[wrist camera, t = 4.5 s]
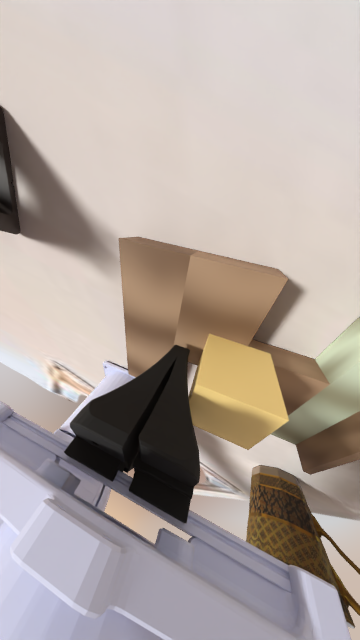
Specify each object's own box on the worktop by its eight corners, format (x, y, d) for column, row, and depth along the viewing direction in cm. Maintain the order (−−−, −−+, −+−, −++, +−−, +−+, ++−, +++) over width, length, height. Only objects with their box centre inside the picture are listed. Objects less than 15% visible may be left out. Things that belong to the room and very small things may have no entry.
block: (244, 387, 13) (248, 449, 9) (196, 369, 14) (182, 420, 10) (270, 353, 10) (289, 420, 7) (209, 333, 11) (196, 383, 8)
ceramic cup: (254, 482, 29) (261, 580, 21) (233, 455, 26) (232, 559, 18) (344, 502, 22) (408, 661, 14) (330, 470, 19) (400, 647, 11)
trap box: (294, 421, 17) (310, 474, 13) (138, 360, 20) (117, 388, 16) (458, 310, 8) (634, 374, 4) (138, 236, 11) (94, 240, 8)
